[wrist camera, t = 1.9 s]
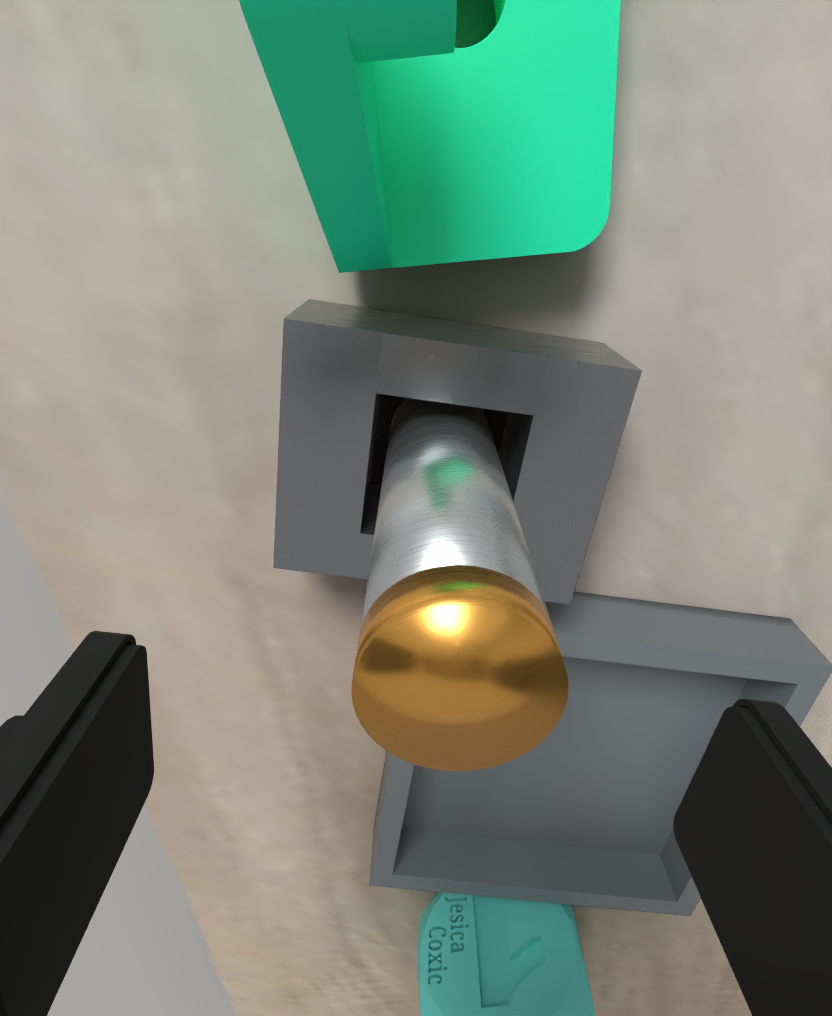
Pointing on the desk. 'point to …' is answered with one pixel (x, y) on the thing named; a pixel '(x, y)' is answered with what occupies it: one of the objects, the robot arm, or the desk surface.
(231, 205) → the desk surface
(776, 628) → the tray
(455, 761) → the pin
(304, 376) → the block
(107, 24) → the desk surface
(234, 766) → the desk surface
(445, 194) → the green mounting bracket
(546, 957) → the decorative dice
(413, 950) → the desk surface
